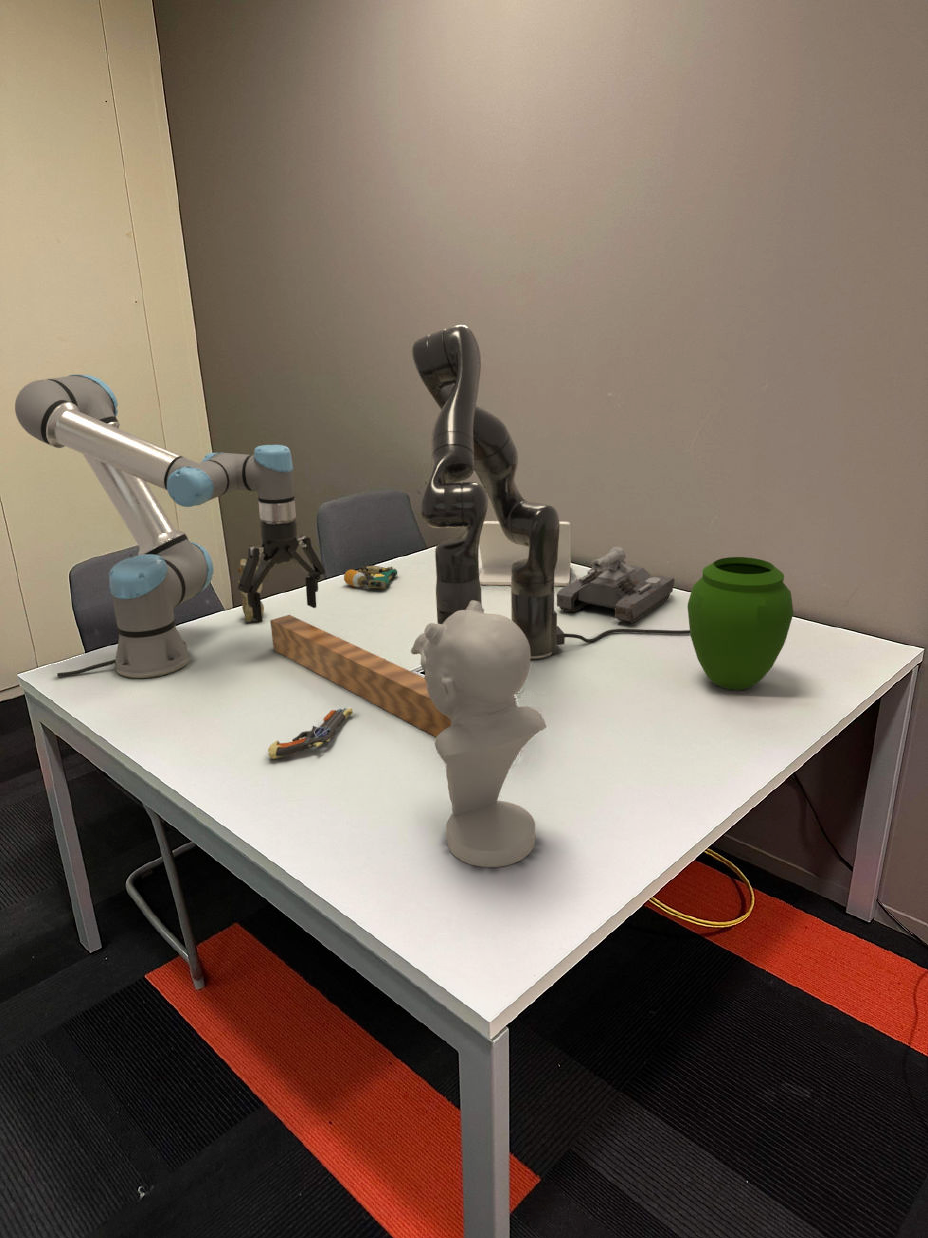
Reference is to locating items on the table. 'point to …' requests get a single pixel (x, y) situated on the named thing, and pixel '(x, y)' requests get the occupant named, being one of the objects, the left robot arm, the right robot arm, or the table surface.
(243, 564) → the sculpture
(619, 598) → the toy
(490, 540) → the tablet stand
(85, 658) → the table surface
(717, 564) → the vase
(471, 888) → the table surface
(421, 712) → the beam
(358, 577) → the spray gun
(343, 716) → the toy gun
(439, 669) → the bust sculpture
